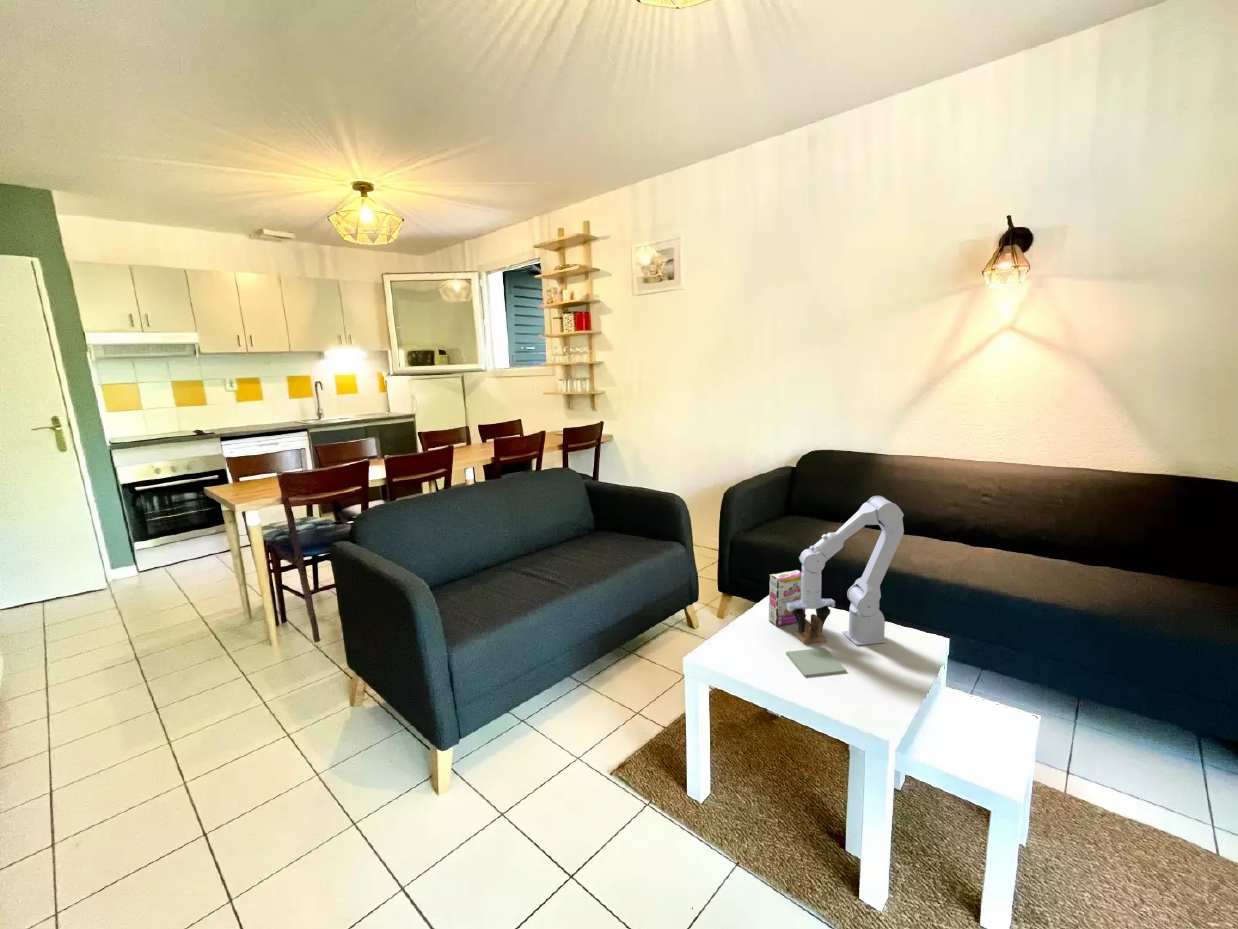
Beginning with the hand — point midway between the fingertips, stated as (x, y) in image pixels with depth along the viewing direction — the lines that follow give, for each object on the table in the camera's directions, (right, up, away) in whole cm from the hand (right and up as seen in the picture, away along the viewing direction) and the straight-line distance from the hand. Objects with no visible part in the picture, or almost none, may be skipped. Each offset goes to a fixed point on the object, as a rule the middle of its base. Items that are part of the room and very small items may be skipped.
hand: (810, 630), depth 161 cm
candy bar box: (-3, -1, +12) cm, 13 cm away
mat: (-3, -5, -13) cm, 14 cm away
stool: (0, -3, +1) cm, 3 cm away
